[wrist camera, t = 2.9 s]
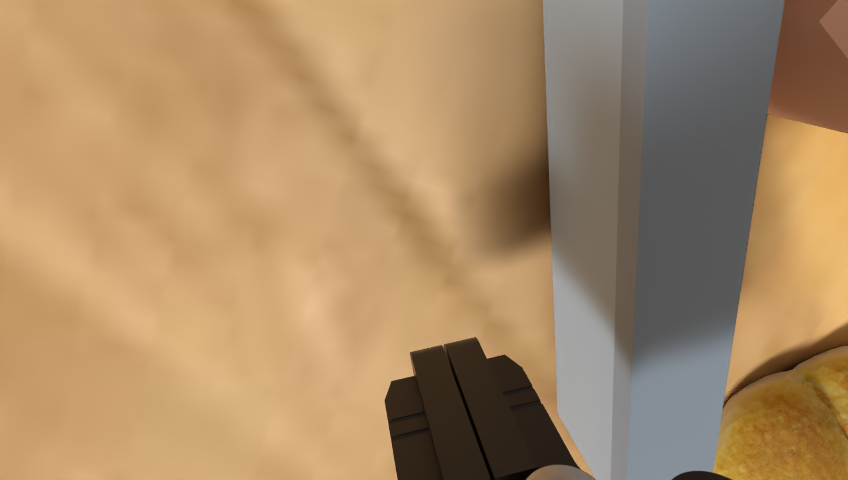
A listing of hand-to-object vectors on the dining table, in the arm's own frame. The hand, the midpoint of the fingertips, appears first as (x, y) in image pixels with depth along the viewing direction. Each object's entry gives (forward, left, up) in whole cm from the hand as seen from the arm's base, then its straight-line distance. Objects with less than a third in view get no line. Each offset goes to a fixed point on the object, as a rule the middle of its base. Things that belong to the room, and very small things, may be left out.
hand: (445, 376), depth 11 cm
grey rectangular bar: (-3, -4, -3) cm, 6 cm away
